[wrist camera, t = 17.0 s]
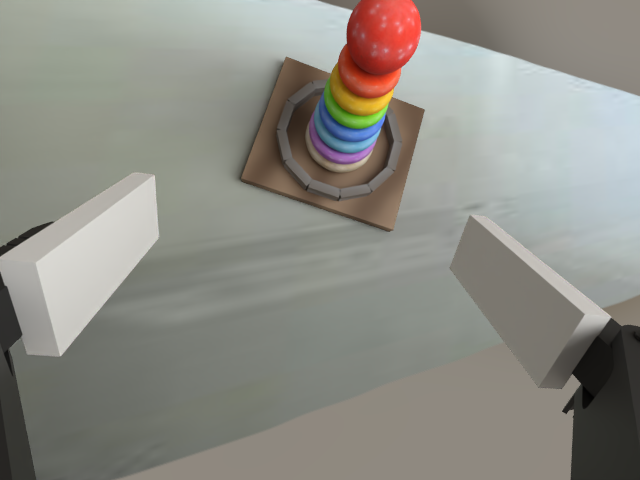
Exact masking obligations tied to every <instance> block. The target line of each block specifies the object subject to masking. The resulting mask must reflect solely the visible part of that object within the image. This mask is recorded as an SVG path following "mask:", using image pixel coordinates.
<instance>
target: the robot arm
mask: <svg viewBox="0 0 640 480" xmlns="http://www.w3.org/2000/svg"><path fill="white" fill-rule="evenodd" d="M158 238H159V230H158V216H157V202H156V188H155V175H153V174H145V173H137V172H133V173H132V174H130V175H129V176H127V177H125V178H124V179H122V180H121V181H119V182H117V183H116V184H114V185H113V186H111V187H110V188H108V189H106V190H105V191H103V192H102V193H100V194H98V195H97V196H95V197H94V198H92V199H91V200H89V201H87V202H86V203H84V204H83V205H81V206H79V207H78V208H76V209H75V210H73V211H72V212H70V213H68V214H67V215H65V216H64V217H62V218H60V219H59V220H57V221H56V222H49V223H46V224H43V225H40V226H37V227H34V228H32V229H30V230H28V231H27V232H25V233H23V234H22V235H20V236H19V238H15V239H13V240H12V241H10V242H8V243H7V245H6V246H5V245H3V246H2V247H0V480H36V476H35V471H34V466H33V461H32V456H31V451H30V446H29V441H28V436H27V431H26V426H25V421H24V416H23V411H22V406H21V401H20V396H19V391H18V386H17V380H16V375H15V370H14V365H13V360H12V357H11V354H10V351H9V348H10V347H11V346H12V345H13V344H14V343H15V342H16V341H17V340H18V339H19V338H20V337H22V340H23V343H24V346H25V349H26V352H27V354H28V355H43V356H59V357H60V356H61V355H62V354H63V353H64V352H65V350H66V349H67V348H68V347H69V346H70V344H71V343H72V342H73V341H74V340H75V338H76V337H77V336H78V335H79V334H80V332H81V331H82V330H83V329H84V328H85V326H86V325H87V324H88V323H89V321H90V320H91V319H92V318H93V317H94V315H95V314H96V313H97V312H98V311H99V309H100V308H101V307H102V306H103V305H104V303H105V302H106V301H107V300H108V299H109V297H110V296H111V295H112V294H113V292H114V291H115V290H116V289H117V288H118V286H119V285H120V284H121V283H122V282H123V280H124V279H125V278H126V277H127V276H128V274H129V273H130V272H131V271H132V270H133V268H134V267H135V266H136V265H137V264H138V262H139V261H140V260H141V259H142V257H143V256H144V255H145V254H146V253H147V251H148V250H149V249H150V248H151V247H152V245H153V244H154V243H155V242H156V241H157V239H158ZM450 269H451V271H452V272H453V273H454V275H455V276H456V278H457V279H458V280H459V282H460V283H461V284H462V286H463V287H464V288H465V290H466V291H467V292H468V294H469V295H470V296H471V298H472V299H473V300H474V302H475V303H476V304H477V306H478V307H479V308H480V310H481V311H482V312H483V314H484V315H485V316H486V318H487V319H488V320H489V322H490V323H491V325H492V326H493V327H494V329H495V330H496V331H497V333H498V334H499V335H500V337H501V338H502V339H503V341H504V342H505V343H506V345H507V346H508V347H509V349H510V350H511V351H512V353H513V354H514V355H515V357H516V358H517V359H518V361H519V362H520V363H521V365H522V366H523V367H524V369H525V370H526V371H527V373H528V374H529V375H530V377H531V378H532V380H533V381H534V382H535V384H536V385H537V386H538V388H555V389H562V388H563V387H564V385H565V383H566V382H567V381H568V379H569V378H570V376H571V375H572V374H573V375H574V376H575V377H576V378H577V379H578V380H579V382H580V383H581V385H580V386H579V388H578V389H577V390H576V392H575V393H574V395H573V396H572V398H571V399H570V400H569V402H568V403H567V404H566V406H565V407H564V409H563V411H562V412H564V413H566V414H567V412H568V411H569V410H573V409H574V416H573V419H574V420H573V441H572V463H571V480H640V327H638V326H633V325H624V326H621V325H619V324H618V323H617V322H616V321H614V320H613V319H612V318H611V316H610V315H608V314H607V313H606V312H605V311H604V310H602V309H601V308H600V307H599V306H597V305H596V304H595V303H594V302H592V301H591V300H590V299H589V298H587V297H586V296H585V295H584V294H582V293H581V292H580V291H579V290H577V289H576V288H575V287H574V286H572V285H571V284H570V283H569V282H567V281H566V280H565V279H564V278H562V277H561V276H560V275H559V274H557V273H556V272H555V271H554V270H552V269H551V268H550V267H549V266H547V265H546V264H545V263H544V262H542V261H541V260H540V259H539V258H537V257H536V256H535V255H534V254H532V253H531V252H530V251H529V250H527V249H526V248H525V247H524V246H522V245H521V244H520V243H519V242H517V241H516V240H515V239H514V238H512V237H511V236H510V235H509V234H507V233H506V232H505V231H504V230H502V229H501V228H500V227H499V226H497V225H496V224H495V223H494V222H492V221H491V220H490V219H489V218H487V217H485V216H477V215H470V216H469V219H468V221H467V224H466V226H465V229H464V232H463V234H462V237H461V240H460V242H459V245H458V247H457V250H456V253H455V255H454V258H453V261H452V263H451V266H450Z"/></svg>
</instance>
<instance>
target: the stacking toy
mask: <svg viewBox="0 0 640 480" xmlns="http://www.w3.org/2000/svg"><path fill="white" fill-rule="evenodd" d="M420 34H421V21H420V16H419V12H418V10H417V8H416V6H415V4H414V3H413V2H412V0H361V1H360V2H359V3H358V4H357V6H356V7H355V8H354V10H353V12H352V14H351V16H350V19H349V22H348V25H347V44H346V45H345V46H344V47H343V49H342V51H341V53H340V55H339V59H338V63H337V64H336V65H335V67H334V68H333V70H332V73H331V76H330V77H329V79H328V80H327V82H326V85H325V89H324V91H323V93H322V95H321V98H320V100H319V102H318V103H317V106H316V108H315V111H314V112H313V114H312V116H311V119H310V121H309V123H308V125H307V129H306V135H305V139H306V145H307V148H308V151H309V153H310V155H311V156H312V158H313V159H314V160H315V161H316V162H317V163H318V164H319V165H321V166H322V167H324V168H326V169H328V170H330V171H333V172H339V173H344V172H350V171H353V170H356V169H358V168H359V167H361V166H362V165H364V164H365V163H366V162H367V160H368V159H369V157H370V156H371V154H372V151H373V148H374V146H375V144H376V141H377V137H378V136H379V133H380V130H381V127H382V125H383V123H384V120H385V115H386V111H387V108H388V104H389V102H390V100H391V98H392V96H393V92H394V87H395V86H396V84H397V83H398V81H399V78H400V74H401V67H402V66H404V65H405V64H406V63H407V62H408V61H409V60H410V58H411V57H412V55H413V54H414V52H415V50H416V48H417V46H418V43H419V39H420Z"/></svg>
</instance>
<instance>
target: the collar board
mask: <svg viewBox="0 0 640 480" xmlns="http://www.w3.org/2000/svg"><path fill="white" fill-rule="evenodd" d="M330 76H331V74H330V73H327V72H325V71H322V70H320V69H317V68H314V67H312V66H309V65H306V64H304V63H301V62H299V61H296V60H293V59H291V58H288V57H286V58H285V61H284V64H283V66H282V69H281V72H280V74H279V77H278V80H277V82H276V85H275V88H274V91H273V93H272V96H271V99H270V101H269V104H268V107H267V109H266V112H265V115H264V117H263V120H262V123H261V126H260V128H259V131H258V134H257V136H256V139H255V142H254V144H253V147H252V150H251V153H250V155H249V158H248V161H247V163H246V166H245V169H244V171H243V174H242V177H241V180H242V182H244V183H247V184H250V185H253V186H256V187H259V188H262V189H265V190H268V191H271V192H274V193H277V194H280V195H283V196H286V197H289V198H292V199H295V200H297V201H300V202H303V203H306V204H309V205H312V206H315V207H318V208H321V209H324V210H327V211H330V212H333V213H336V214H339V215H342V216H345V217H348V218H351V219H354V220H357V221H359V222H362V223H365V224H368V225H371V226H374V227H377V228H380V229H383V230H386V231H389V232H390V231H392V230H393V229H394V225H395V221H396V217H397V213H398V210H399V206H400V202H401V198H402V194H403V190H404V187H405V183H406V179H407V175H408V171H409V168H410V164H411V160H412V156H413V152H414V148H415V145H416V141H417V137H418V133H419V129H420V126H421V122H422V118H423V114H424V109H422V108H419V107H416V106H414V105H411V104H409V103H406V102H403V101H401V100H398V99H395V98H393V97H392V98H391V100H390V102H389V104H388V108H387V111H386V115H385V120H384V123H383V125H382V127H381V130H380V133H379V136H378V137H377V141H376V144H375V146H374V148H373V151H372V154H371V156H370V157H369V159H368V160H367V162H366V163H365V164H364V165H362V166H361V167H359V168H358V169H356V170H353V171H350V172H344V173H339V172H333V171H330V170H328V169H326V168H324V167H322V166H321V165H319V164H318V163H317V162H316V161H315V160H314V159H313V158H312V156H311V155H310V153H309V151H308V148H307V145H306V139H305V135H306V129H307V125H308V123H309V121H310V119H311V116H312V114H313V112H314V111H315V108H316V106H317V103H318V102H319V100H320V98H321V95H322V93H323V91H324V89H325V85H326V82H327V80H328V79H329V77H330Z"/></svg>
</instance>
